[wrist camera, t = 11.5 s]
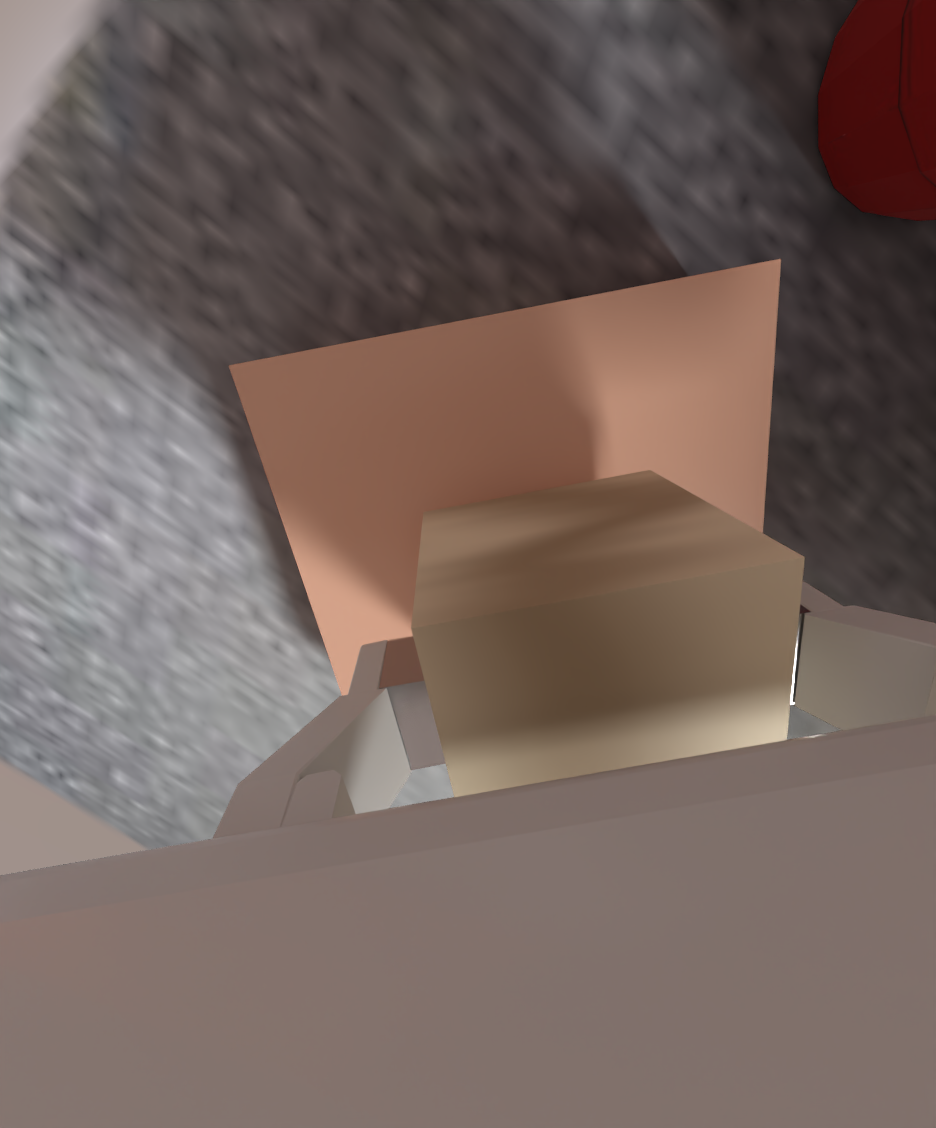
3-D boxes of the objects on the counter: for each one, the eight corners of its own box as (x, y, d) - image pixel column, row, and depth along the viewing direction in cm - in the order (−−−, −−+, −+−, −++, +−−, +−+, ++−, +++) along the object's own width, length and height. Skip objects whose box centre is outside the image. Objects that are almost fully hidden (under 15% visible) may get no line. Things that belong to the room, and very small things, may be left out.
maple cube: (650, 470, 11) (804, 557, 6) (655, 660, 13) (777, 834, 8) (423, 512, 11) (411, 628, 6) (464, 694, 13) (477, 884, 8)
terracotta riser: (693, 281, 14) (781, 259, 11) (691, 636, 19) (751, 705, 15) (281, 360, 14) (228, 365, 11) (382, 691, 19) (368, 772, 16)
